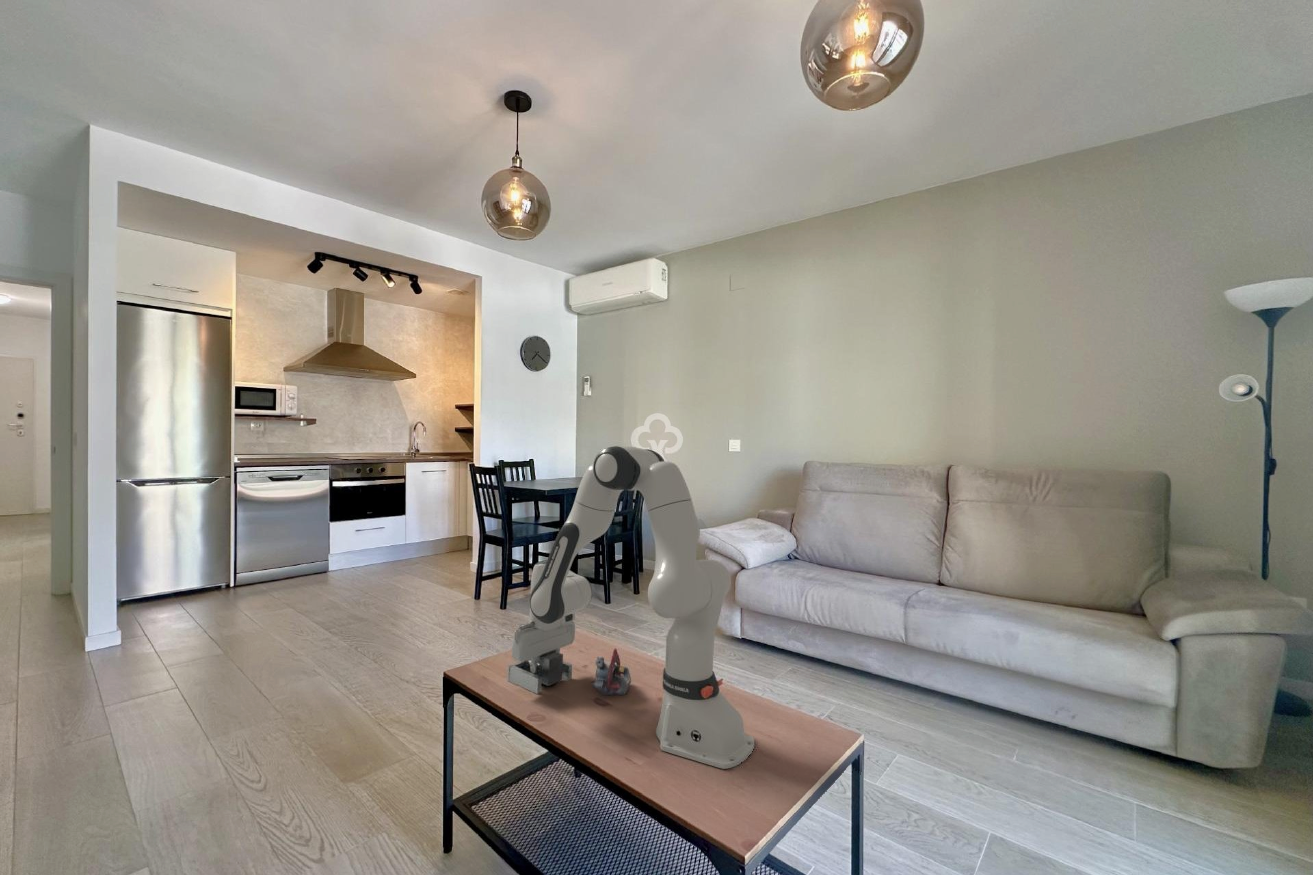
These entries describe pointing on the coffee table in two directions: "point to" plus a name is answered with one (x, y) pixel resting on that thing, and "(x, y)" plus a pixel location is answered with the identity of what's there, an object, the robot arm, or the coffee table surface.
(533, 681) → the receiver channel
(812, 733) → the coffee table surface
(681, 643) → the robot arm
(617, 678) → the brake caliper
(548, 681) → the block
